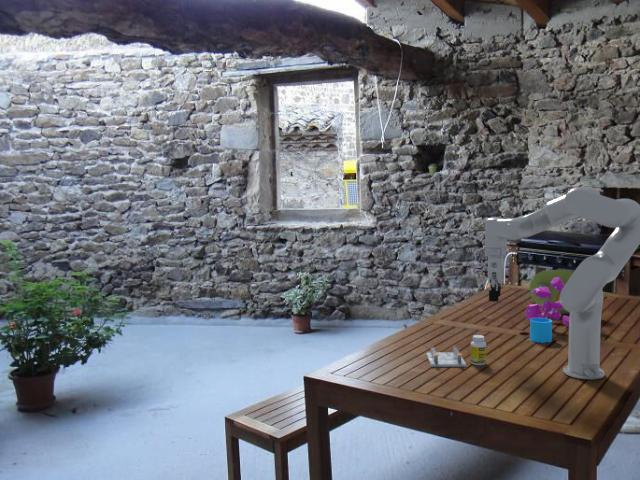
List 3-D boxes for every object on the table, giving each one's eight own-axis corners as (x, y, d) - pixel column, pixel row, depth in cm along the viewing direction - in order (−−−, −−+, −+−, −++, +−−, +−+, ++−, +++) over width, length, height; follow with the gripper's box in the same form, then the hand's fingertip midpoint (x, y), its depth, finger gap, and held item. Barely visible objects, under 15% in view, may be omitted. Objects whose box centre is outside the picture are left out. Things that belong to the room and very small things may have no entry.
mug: (548, 344, 234) (548, 323, 233) (527, 340, 239) (527, 320, 238) (557, 337, 243) (557, 317, 242) (537, 334, 248) (537, 315, 247)
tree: (589, 252, 272) (583, 274, 242) (605, 310, 275) (602, 340, 245) (522, 265, 287) (509, 288, 257) (539, 320, 290) (528, 349, 260)
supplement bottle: (479, 366, 208) (479, 339, 207) (467, 362, 212) (467, 336, 211) (489, 363, 211) (489, 336, 210) (477, 359, 216) (477, 333, 215)
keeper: (466, 366, 208) (466, 355, 208) (431, 367, 209) (431, 355, 208) (458, 354, 222) (459, 344, 222) (426, 355, 223) (426, 344, 222)
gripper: (504, 255, 206) (503, 304, 208) (508, 249, 222) (507, 294, 224) (482, 254, 209) (481, 302, 211) (487, 248, 225) (486, 293, 227)
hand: (494, 298), depth 217 cm, fingers open, 9 cm apart
